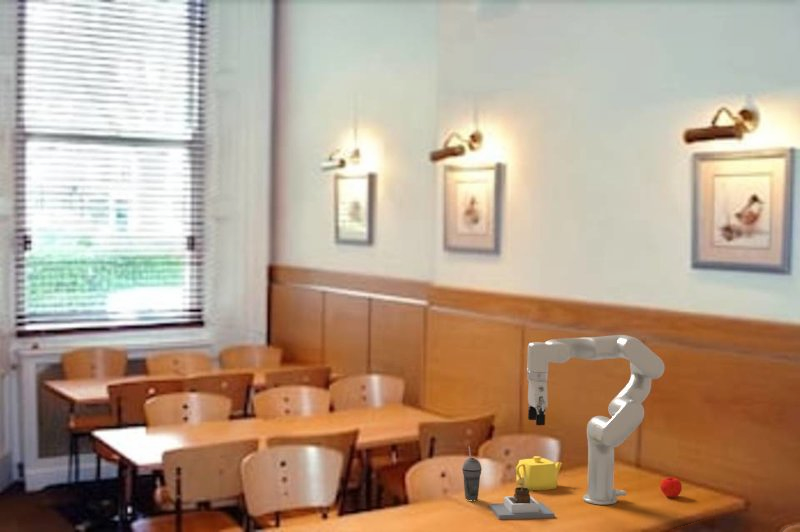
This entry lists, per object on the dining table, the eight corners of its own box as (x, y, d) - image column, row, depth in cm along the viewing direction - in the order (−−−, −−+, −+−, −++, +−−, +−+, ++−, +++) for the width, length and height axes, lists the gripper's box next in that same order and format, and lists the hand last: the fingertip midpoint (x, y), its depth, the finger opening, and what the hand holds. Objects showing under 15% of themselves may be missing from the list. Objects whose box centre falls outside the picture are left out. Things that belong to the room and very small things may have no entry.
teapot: (553, 480, 391) (554, 451, 391) (568, 488, 380) (569, 458, 379) (508, 484, 385) (509, 454, 384) (522, 492, 373) (523, 461, 373)
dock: (542, 506, 355) (542, 494, 354) (554, 517, 341) (554, 504, 341) (489, 507, 351) (489, 495, 351) (498, 519, 338) (499, 506, 337)
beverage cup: (479, 503, 357) (480, 449, 357) (460, 501, 359) (461, 448, 358) (482, 497, 364) (483, 444, 364) (463, 496, 366) (464, 443, 365)
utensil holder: (530, 506, 348) (531, 473, 348) (529, 511, 342) (530, 478, 342) (514, 505, 350) (514, 472, 349) (512, 510, 343) (513, 476, 343)
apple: (659, 498, 367) (660, 479, 367) (660, 493, 375) (660, 474, 374) (681, 500, 365) (682, 481, 365) (681, 495, 372) (682, 476, 372)
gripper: (554, 379, 347) (553, 427, 348) (540, 372, 364) (539, 417, 365) (534, 379, 346) (533, 427, 347) (520, 372, 363) (519, 417, 364)
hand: (536, 422), depth 356 cm, fingers open, 9 cm apart
